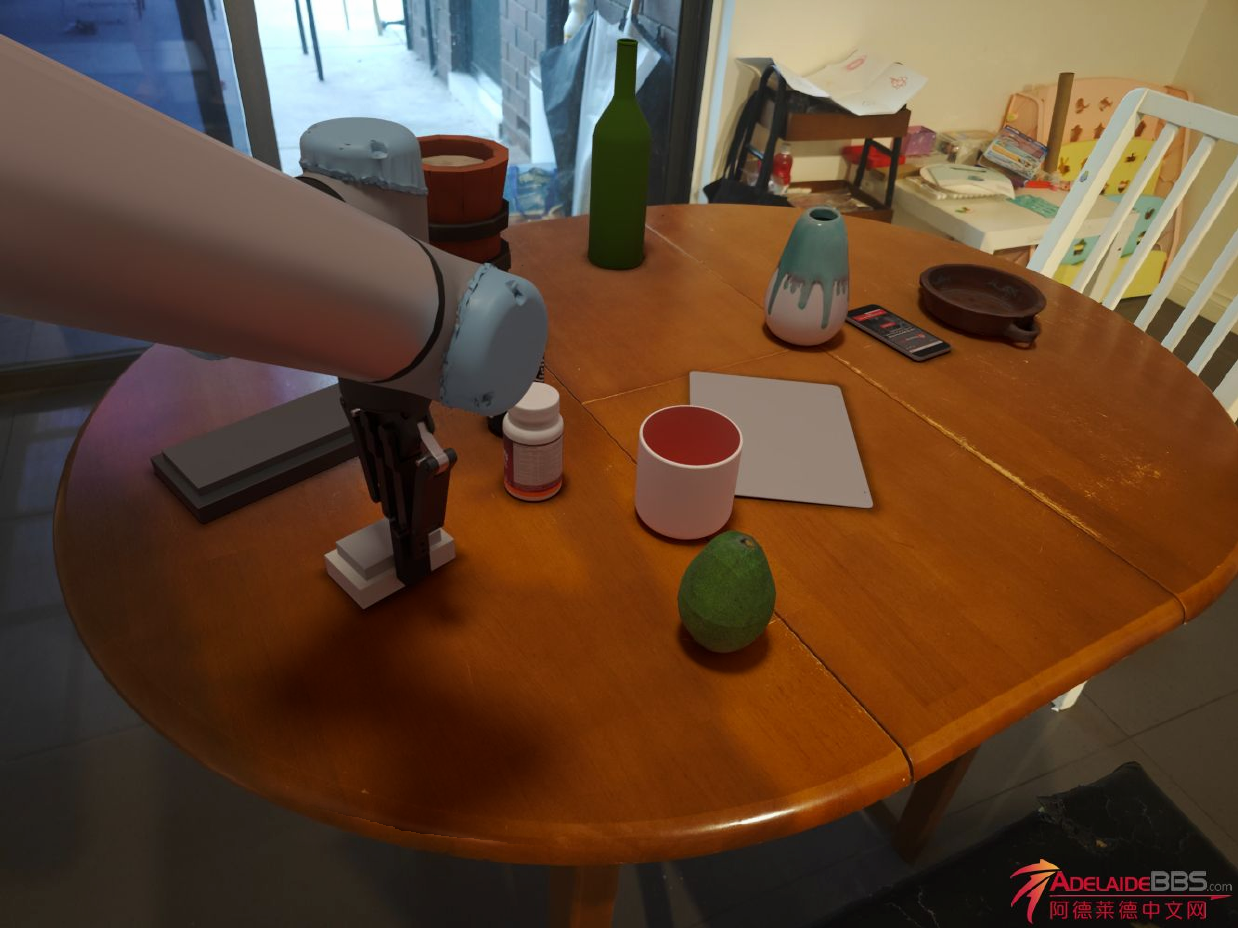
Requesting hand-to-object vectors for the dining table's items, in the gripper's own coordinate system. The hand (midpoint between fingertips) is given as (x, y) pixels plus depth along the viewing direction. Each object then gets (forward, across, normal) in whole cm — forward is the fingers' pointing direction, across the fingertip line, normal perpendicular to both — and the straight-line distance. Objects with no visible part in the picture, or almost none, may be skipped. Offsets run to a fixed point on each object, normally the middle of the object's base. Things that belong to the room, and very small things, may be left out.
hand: (414, 574), depth 77 cm
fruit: (+2, -23, -16) cm, 28 cm away
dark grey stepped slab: (+2, +26, -3) cm, 26 cm away
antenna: (+2, -5, -44) cm, 44 cm away
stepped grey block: (+2, +4, 0) cm, 4 cm away
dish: (+2, -8, -95) cm, 95 cm away
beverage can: (+2, +14, -24) cm, 28 cm away
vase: (+2, +6, -69) cm, 69 cm away
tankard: (+2, +36, -31) cm, 48 cm away
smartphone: (+2, -3, -80) cm, 80 cm away
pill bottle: (+2, +4, -18) cm, 18 cm away
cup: (+2, -9, -26) cm, 28 cm away
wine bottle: (+2, +41, -67) cm, 78 cm away
